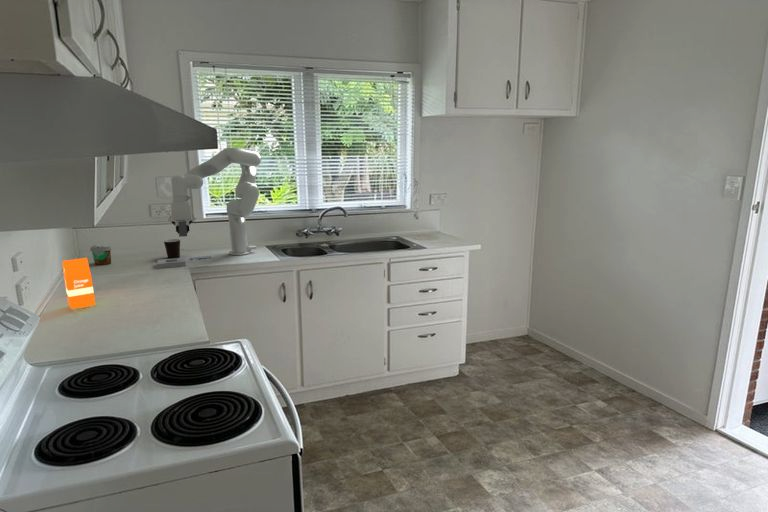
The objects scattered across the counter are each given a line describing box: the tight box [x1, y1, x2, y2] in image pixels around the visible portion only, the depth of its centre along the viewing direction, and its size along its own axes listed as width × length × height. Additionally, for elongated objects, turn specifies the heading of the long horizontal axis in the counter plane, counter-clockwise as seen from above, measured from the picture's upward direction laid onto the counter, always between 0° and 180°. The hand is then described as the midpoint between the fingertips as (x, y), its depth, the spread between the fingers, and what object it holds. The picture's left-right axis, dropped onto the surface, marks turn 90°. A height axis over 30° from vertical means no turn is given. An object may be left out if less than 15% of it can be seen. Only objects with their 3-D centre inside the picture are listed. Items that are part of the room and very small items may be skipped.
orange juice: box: [62, 257, 96, 309], centre depth 206 cm, size 8×9×20 cm
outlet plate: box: [156, 257, 187, 269], centre depth 275 cm, size 14×10×2 cm
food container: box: [89, 244, 112, 266], centre depth 277 cm, size 12×6×10 cm, turn 68°
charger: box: [178, 220, 188, 237], centre depth 274 cm, size 4×4×8 cm
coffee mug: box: [163, 238, 181, 259], centre depth 293 cm, size 12×9×10 cm
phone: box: [190, 255, 212, 261], centre depth 290 cm, size 11×6×1 cm, turn 111°
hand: (182, 232), depth 274 cm, fingers closed on charger, 4 cm apart
